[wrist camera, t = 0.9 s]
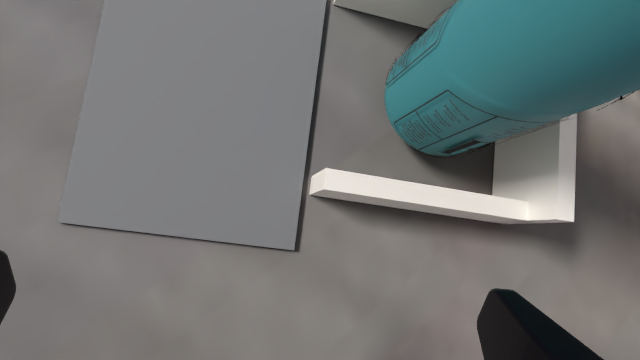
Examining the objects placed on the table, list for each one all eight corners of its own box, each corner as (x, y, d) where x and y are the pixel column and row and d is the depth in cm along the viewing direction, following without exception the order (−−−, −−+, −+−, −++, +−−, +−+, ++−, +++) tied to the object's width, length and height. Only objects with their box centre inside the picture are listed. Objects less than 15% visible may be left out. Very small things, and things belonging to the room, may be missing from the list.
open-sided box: (505, 224, 25) (591, 221, 20) (309, 194, 23) (342, 181, 17) (515, 36, 27) (597, -18, 21) (335, -12, 24) (373, -88, 19)
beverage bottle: (402, 183, 24) (1171, -19, 5) (348, 78, 24) (902, -552, 5) (489, 136, 26) (1305, -152, 7) (439, 38, 26) (1110, -540, 7)
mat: (293, 250, 22) (294, 250, 22) (59, 222, 20) (56, 222, 19) (333, -62, 25) (334, -65, 25) (132, -120, 22) (131, -125, 22)
